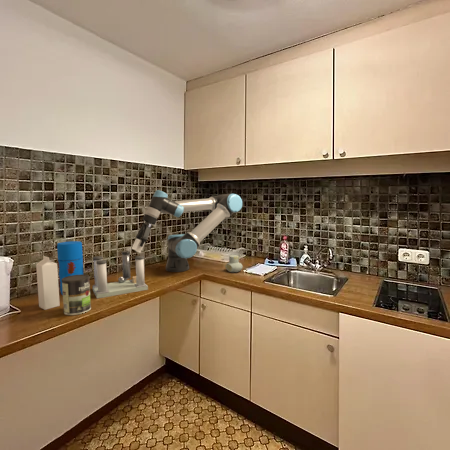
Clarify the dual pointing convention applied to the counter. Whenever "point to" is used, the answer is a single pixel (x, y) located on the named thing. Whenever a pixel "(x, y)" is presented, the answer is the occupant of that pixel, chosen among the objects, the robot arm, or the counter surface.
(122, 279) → the folding leg
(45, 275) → the milk
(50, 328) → the counter surface
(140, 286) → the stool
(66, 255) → the thermos
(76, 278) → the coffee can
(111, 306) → the counter surface
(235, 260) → the pipe tee fitting
